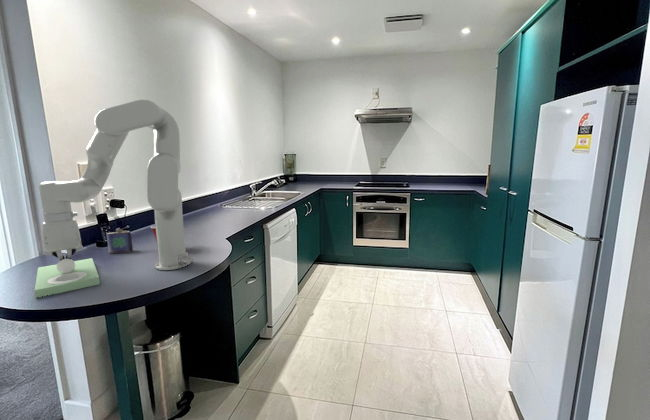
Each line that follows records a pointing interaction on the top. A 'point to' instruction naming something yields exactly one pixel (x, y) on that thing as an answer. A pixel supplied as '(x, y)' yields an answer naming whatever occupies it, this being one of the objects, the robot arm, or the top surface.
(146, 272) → the top surface
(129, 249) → the flask
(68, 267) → the ball
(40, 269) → the tissue box
